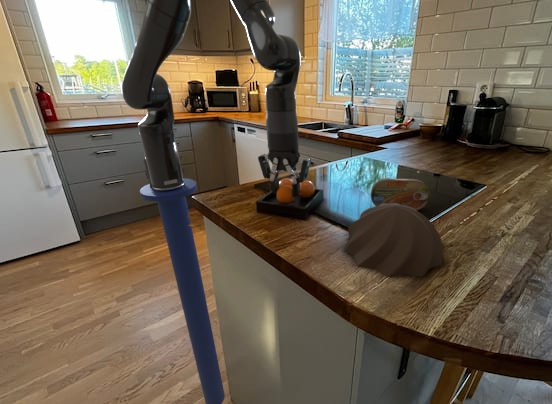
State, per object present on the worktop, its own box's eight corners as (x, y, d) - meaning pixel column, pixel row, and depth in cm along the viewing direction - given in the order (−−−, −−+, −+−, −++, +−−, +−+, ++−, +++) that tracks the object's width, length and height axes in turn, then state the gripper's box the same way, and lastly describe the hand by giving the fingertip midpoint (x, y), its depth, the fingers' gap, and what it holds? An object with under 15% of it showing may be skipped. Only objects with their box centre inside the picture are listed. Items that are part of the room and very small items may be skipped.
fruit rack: (256, 212, 79) (254, 189, 77) (280, 193, 91) (279, 173, 89) (305, 220, 75) (304, 196, 72) (323, 199, 87) (323, 178, 84)
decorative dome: (424, 292, 50) (433, 241, 46) (326, 254, 61) (327, 209, 57) (453, 243, 64) (462, 200, 60) (370, 219, 75) (372, 181, 71)
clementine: (269, 198, 77) (279, 185, 75) (277, 191, 81) (287, 178, 79) (284, 210, 77) (294, 198, 75) (291, 203, 82) (301, 191, 79)
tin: (369, 209, 80) (372, 179, 77) (369, 204, 83) (371, 176, 80) (427, 212, 78) (432, 182, 75) (425, 207, 81) (430, 178, 78)
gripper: (315, 128, 72) (316, 193, 79) (263, 125, 77) (268, 187, 84) (304, 133, 66) (305, 204, 72) (248, 130, 70) (254, 196, 77)
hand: (285, 194), depth 78 cm, fingers closed on clementine, 5 cm apart
